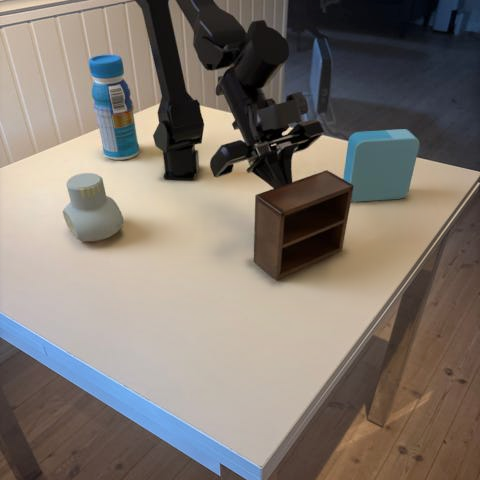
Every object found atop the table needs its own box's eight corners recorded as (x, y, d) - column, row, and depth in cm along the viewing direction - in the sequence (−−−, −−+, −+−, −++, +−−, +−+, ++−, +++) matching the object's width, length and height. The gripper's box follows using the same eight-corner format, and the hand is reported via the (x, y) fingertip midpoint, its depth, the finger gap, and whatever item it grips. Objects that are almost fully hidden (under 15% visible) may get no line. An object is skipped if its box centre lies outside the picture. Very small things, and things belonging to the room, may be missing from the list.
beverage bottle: (98, 160, 110) (77, 63, 97) (110, 145, 116) (92, 52, 103) (134, 162, 109) (118, 64, 96) (144, 147, 115) (131, 53, 102)
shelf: (253, 261, 79) (255, 194, 71) (318, 234, 85) (326, 169, 77) (276, 280, 76) (280, 212, 67) (342, 251, 81) (353, 185, 73)
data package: (398, 188, 98) (412, 128, 90) (407, 198, 95) (421, 137, 87) (340, 192, 97) (349, 131, 89) (347, 203, 94) (356, 141, 86)
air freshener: (130, 239, 85) (120, 186, 79) (84, 254, 82) (70, 199, 75) (107, 213, 92) (96, 162, 85) (64, 226, 89) (49, 174, 82)
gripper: (216, 86, 64) (265, 195, 65) (322, 62, 72) (365, 160, 72) (190, 128, 74) (233, 222, 75) (286, 104, 82) (324, 189, 83)
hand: (290, 198), depth 76 cm, fingers closed, pressing on shelf
